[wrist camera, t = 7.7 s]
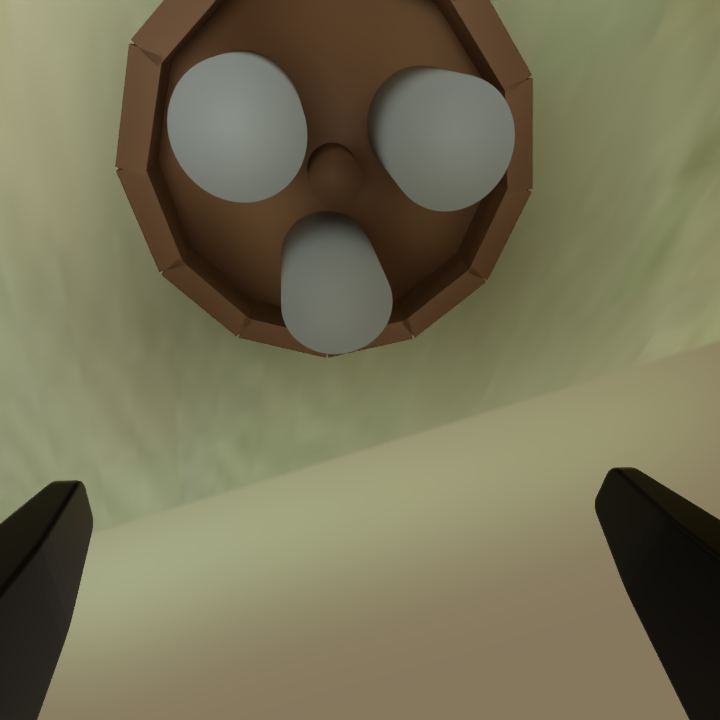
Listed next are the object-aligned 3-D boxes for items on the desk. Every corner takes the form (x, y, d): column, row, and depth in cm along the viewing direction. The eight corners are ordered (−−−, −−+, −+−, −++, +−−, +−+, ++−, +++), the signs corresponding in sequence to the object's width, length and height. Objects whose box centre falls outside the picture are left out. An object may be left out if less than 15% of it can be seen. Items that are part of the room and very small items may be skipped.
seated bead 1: (250, 189, 17) (242, 228, 13) (169, 106, 15) (137, 127, 12) (323, 117, 16) (335, 139, 12) (244, 22, 14) (234, 18, 11)
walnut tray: (320, 375, 22) (324, 408, 20) (57, 148, 16) (26, 164, 14) (565, 177, 19) (598, 193, 17) (347, -193, 13) (358, -233, 11)
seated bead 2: (408, 196, 17) (438, 235, 14) (345, 118, 16) (363, 141, 13) (485, 128, 17) (537, 152, 13) (427, 39, 15) (469, 41, 12)
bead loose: (368, 298, 19) (386, 354, 16) (280, 297, 19) (281, 354, 15) (376, 213, 18) (398, 254, 14) (281, 208, 17) (280, 250, 14)
